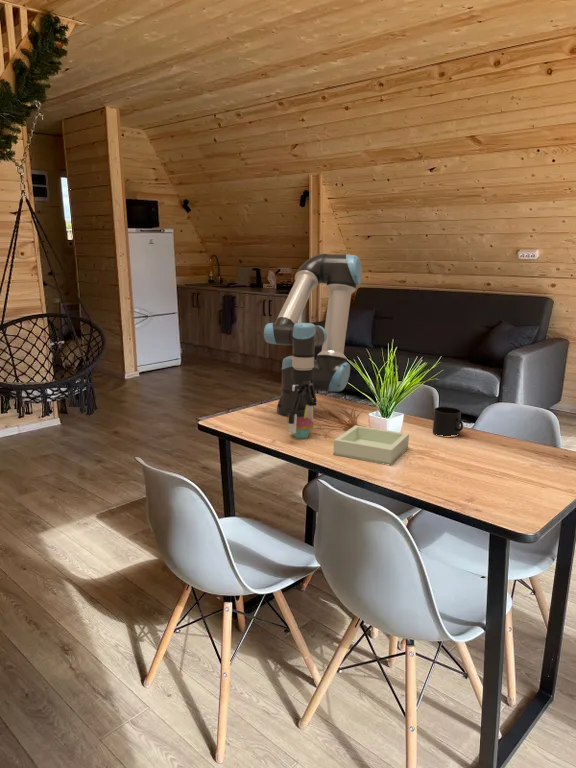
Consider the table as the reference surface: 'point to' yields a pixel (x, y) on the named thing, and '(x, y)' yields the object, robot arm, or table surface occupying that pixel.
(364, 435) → the serving bin
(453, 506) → the table surface
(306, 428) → the cupcake
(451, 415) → the mug
